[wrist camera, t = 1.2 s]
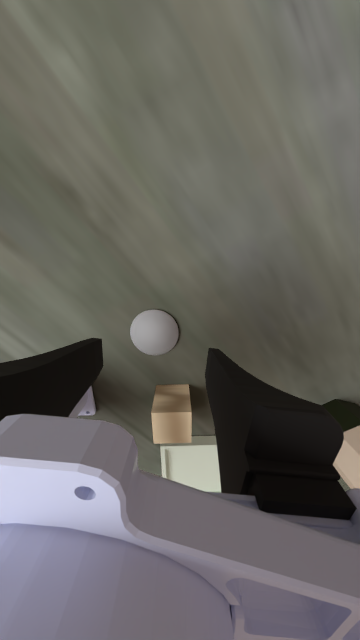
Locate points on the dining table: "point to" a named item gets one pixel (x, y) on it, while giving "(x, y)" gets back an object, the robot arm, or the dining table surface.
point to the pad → (154, 332)
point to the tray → (192, 463)
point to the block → (171, 414)
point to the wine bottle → (347, 440)
